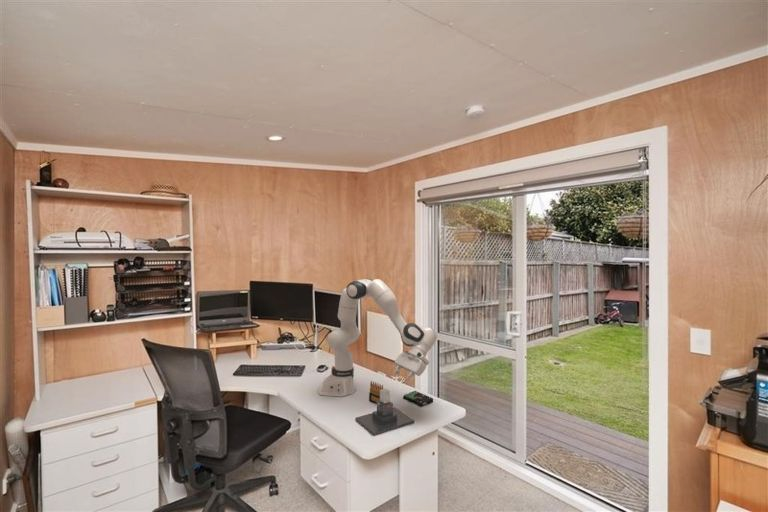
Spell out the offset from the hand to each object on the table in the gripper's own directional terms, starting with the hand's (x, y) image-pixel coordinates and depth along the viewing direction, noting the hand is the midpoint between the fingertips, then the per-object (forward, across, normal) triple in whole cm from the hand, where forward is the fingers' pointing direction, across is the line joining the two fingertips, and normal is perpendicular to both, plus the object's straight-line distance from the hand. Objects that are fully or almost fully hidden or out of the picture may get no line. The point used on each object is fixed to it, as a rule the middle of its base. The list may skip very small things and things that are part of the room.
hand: (401, 376), depth 194 cm
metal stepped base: (+22, 0, +8) cm, 24 cm away
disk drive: (+1, -12, +30) cm, 32 cm away
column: (+21, 0, +7) cm, 22 cm away
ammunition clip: (+17, -21, +14) cm, 30 cm away
